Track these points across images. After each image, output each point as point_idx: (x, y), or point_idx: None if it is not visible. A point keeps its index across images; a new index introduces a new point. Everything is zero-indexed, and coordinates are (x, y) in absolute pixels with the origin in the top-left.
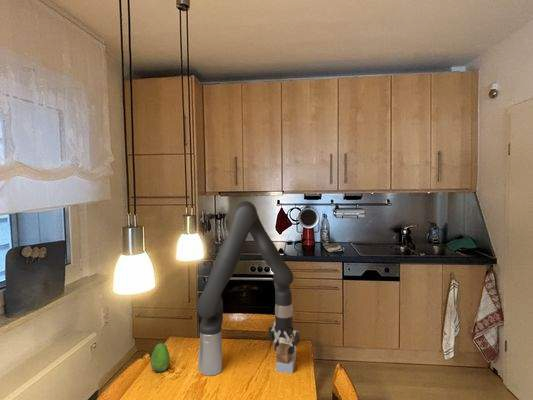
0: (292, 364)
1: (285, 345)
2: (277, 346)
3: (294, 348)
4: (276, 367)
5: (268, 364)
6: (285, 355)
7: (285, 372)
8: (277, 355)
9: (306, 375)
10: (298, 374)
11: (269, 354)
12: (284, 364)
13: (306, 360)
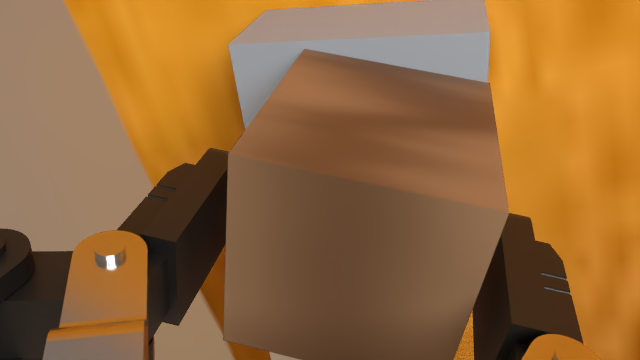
0: (230, 50)
1: (323, 316)
2: (486, 268)
3: (274, 353)
4: (479, 12)
5: (613, 148)
6: (304, 106)
7: (354, 5)
8: (473, 125)
9: (109, 5)
10: (195, 4)
11: (615, 340)
12: (348, 35)
13: (212, 272)
